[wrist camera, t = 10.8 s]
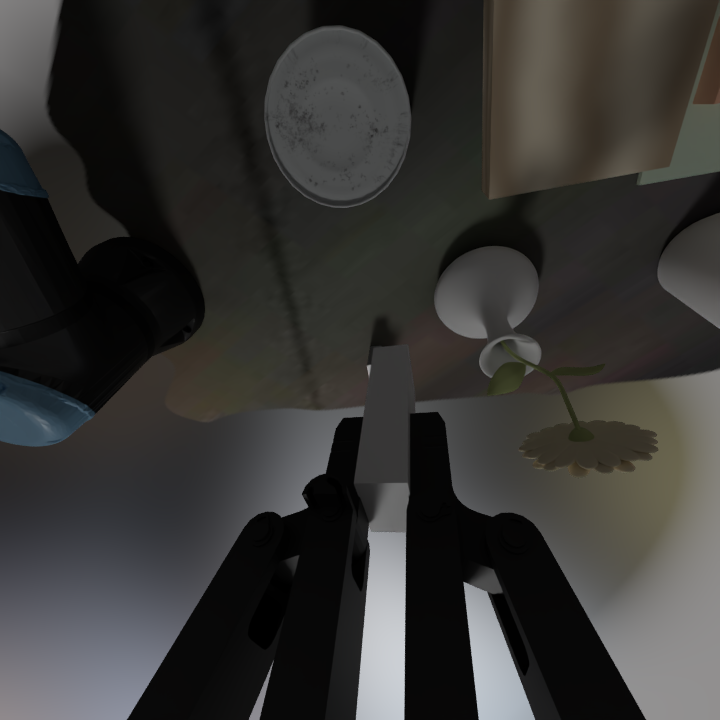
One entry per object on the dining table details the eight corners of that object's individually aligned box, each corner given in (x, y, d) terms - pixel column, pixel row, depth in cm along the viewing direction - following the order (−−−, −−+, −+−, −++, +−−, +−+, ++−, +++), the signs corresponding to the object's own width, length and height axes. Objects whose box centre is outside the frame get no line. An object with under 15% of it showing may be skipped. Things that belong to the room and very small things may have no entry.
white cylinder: (357, 18, 27) (329, -29, 17) (432, 120, 30) (443, 127, 21) (289, 121, 32) (236, 129, 22) (360, 199, 35) (341, 235, 26)
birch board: (481, 190, 33) (489, 199, 30) (483, -9, 25) (494, -26, 22) (642, 160, 30) (669, 166, 27) (703, -78, 22) (751, -107, 19)
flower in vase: (428, 328, 44) (445, 511, 24) (439, 240, 37) (473, 396, 17) (533, 331, 42) (641, 529, 23) (564, 241, 35) (757, 412, 16)
